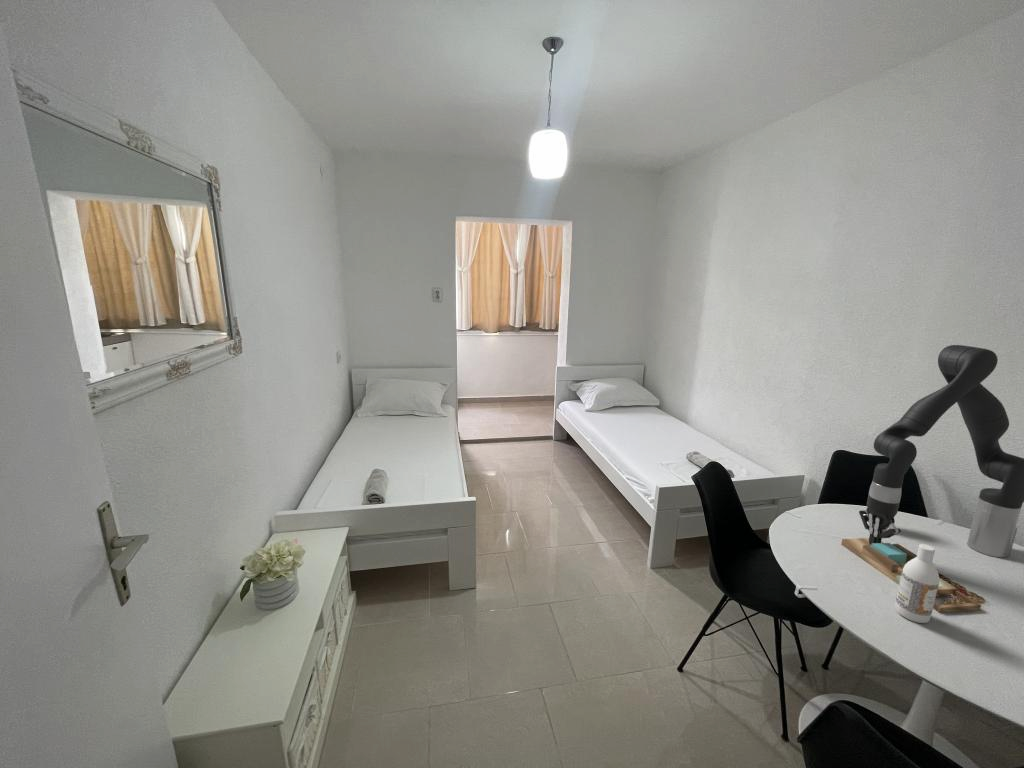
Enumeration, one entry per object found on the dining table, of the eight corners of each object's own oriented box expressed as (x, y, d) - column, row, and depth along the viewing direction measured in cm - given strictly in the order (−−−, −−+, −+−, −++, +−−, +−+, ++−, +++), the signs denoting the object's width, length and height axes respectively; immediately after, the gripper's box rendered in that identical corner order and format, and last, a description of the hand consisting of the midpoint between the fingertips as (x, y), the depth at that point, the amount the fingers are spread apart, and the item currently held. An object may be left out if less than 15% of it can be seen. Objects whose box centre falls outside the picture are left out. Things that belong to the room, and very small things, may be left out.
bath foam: (916, 626, 110) (932, 557, 105) (887, 607, 116) (901, 541, 112) (936, 621, 111) (953, 553, 107) (907, 603, 118) (922, 537, 114)
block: (887, 551, 138) (889, 542, 137) (905, 562, 132) (907, 554, 131) (869, 551, 138) (871, 543, 137) (886, 563, 132) (888, 554, 131)
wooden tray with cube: (874, 542, 146) (876, 530, 145) (979, 610, 115) (983, 595, 114) (841, 544, 145) (843, 532, 144) (939, 612, 114) (942, 598, 113)
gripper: (915, 506, 130) (904, 557, 133) (876, 487, 142) (866, 533, 146) (892, 507, 129) (881, 558, 133) (855, 487, 142) (846, 534, 146)
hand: (873, 545), depth 139 cm, fingers closed
